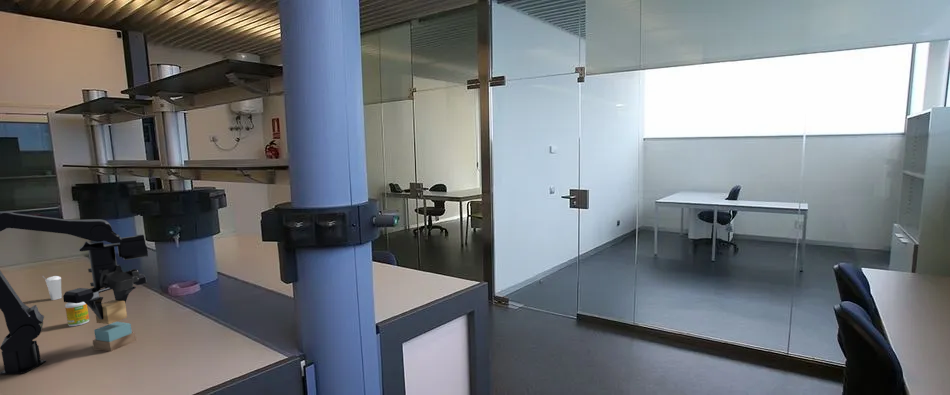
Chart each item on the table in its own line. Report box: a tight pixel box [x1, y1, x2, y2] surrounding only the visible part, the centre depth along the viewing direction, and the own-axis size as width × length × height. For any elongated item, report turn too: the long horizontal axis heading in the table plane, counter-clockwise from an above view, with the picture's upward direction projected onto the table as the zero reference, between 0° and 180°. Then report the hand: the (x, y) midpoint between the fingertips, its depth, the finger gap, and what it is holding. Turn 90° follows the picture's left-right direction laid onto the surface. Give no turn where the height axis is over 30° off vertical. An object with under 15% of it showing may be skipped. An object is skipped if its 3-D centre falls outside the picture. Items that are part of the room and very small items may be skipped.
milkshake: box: [42, 275, 63, 301], centre depth 178 cm, size 5×5×10 cm
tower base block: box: [92, 331, 137, 352], centre depth 130 cm, size 7×7×3 cm
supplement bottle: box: [64, 302, 90, 327], centre depth 149 cm, size 5×5×10 cm
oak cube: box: [94, 299, 128, 325], centre depth 129 cm, size 5×5×5 cm
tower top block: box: [93, 321, 133, 342], centre depth 130 cm, size 6×6×3 cm
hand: (111, 316), depth 129 cm, fingers closed on oak cube, 5 cm apart
